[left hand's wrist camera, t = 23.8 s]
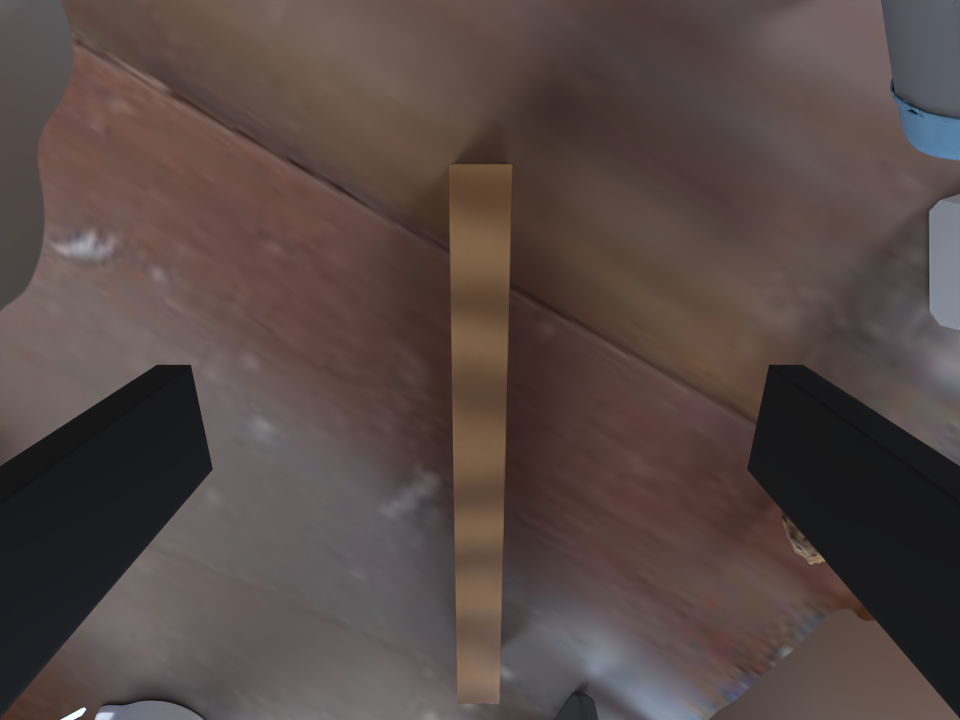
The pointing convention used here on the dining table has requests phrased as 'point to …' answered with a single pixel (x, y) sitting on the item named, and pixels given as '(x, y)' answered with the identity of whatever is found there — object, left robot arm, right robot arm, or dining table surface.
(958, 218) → the electronic device
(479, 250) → the bar
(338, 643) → the dining table surface
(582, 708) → the handheld gaming console
